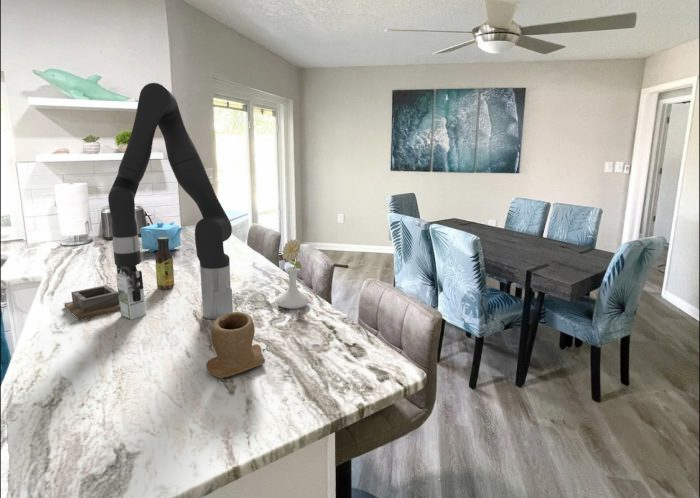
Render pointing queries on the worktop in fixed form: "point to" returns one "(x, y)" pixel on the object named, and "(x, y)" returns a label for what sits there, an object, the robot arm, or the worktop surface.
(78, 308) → the socket holder
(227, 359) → the stone cup
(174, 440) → the worktop surface
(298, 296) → the flower in vase
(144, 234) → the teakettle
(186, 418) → the worktop surface
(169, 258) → the sauce bottle
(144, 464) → the worktop surface
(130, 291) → the syrup box
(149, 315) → the worktop surface
